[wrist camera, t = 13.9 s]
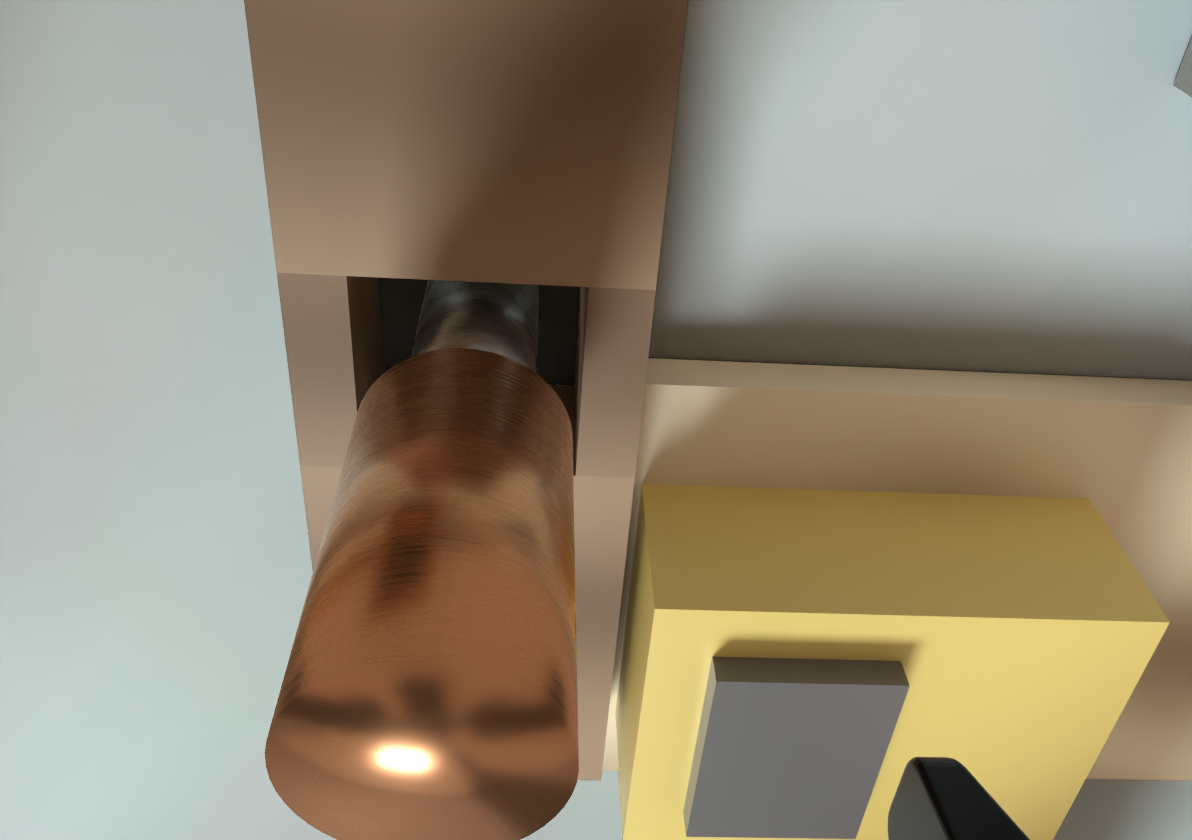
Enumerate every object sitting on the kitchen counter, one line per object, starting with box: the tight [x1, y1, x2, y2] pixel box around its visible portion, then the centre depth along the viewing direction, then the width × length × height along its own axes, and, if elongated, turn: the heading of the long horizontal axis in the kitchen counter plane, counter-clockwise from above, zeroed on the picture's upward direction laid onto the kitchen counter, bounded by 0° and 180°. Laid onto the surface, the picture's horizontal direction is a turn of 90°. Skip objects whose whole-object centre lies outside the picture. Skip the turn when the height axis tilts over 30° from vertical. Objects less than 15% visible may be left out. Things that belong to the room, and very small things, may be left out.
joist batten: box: [244, 0, 688, 780], centre depth 17 cm, size 15×5×2 cm, turn 176°
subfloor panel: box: [602, 358, 1192, 781], centre depth 21 cm, size 10×15×1 cm, turn 86°
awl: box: [265, 280, 579, 840], centre depth 13 cm, size 3×3×9 cm
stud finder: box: [615, 484, 1170, 840], centre depth 19 cm, size 6×8×4 cm
